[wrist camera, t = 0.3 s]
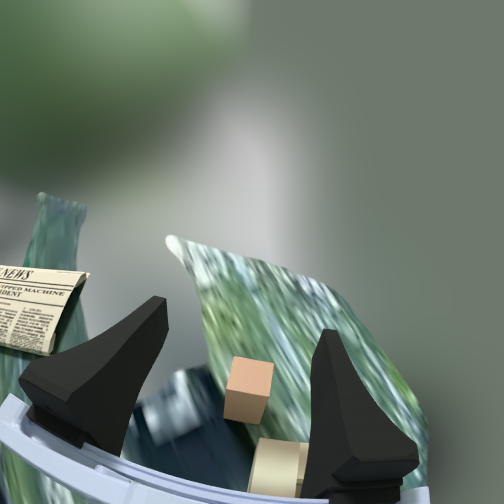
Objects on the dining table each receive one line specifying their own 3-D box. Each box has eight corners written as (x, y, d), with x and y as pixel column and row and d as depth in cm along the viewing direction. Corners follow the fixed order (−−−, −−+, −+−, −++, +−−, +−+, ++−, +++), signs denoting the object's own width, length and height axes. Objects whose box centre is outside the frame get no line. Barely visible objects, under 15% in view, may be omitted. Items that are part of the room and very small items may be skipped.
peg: (259, 424, 29) (269, 396, 25) (223, 418, 29) (226, 388, 25) (263, 395, 32) (273, 363, 28) (230, 389, 32) (234, 356, 29)
